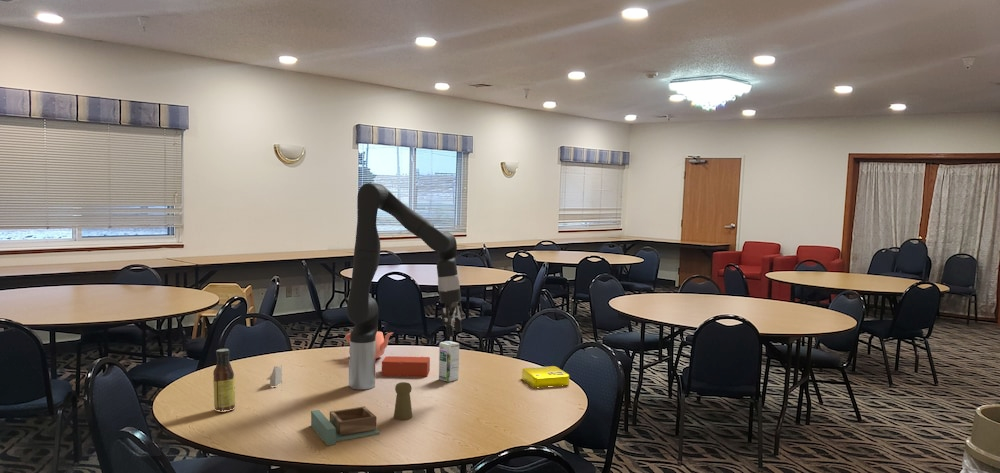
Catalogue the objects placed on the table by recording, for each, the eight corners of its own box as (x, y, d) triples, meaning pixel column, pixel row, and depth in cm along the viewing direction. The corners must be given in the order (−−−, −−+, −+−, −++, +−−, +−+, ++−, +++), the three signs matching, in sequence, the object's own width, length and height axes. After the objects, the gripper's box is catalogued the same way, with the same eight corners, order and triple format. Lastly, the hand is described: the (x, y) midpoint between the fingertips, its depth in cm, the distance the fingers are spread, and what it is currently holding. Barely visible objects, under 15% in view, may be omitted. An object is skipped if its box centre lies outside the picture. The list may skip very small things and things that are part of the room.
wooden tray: (329, 423, 197) (329, 411, 197) (364, 418, 202) (364, 406, 202) (340, 435, 187) (340, 422, 187) (376, 429, 193) (376, 416, 193)
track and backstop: (311, 425, 198) (311, 410, 197) (362, 417, 206) (362, 403, 206) (327, 445, 182) (327, 429, 182) (382, 435, 190) (382, 420, 190)
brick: (429, 371, 263) (429, 356, 263) (427, 377, 254) (427, 362, 254) (385, 370, 263) (385, 356, 263) (381, 376, 254) (381, 361, 254)
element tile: (555, 376, 260) (555, 364, 260) (570, 386, 246) (571, 374, 245) (520, 378, 255) (520, 366, 255) (534, 389, 241) (534, 377, 241)
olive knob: (394, 413, 210) (394, 380, 209) (413, 413, 210) (413, 380, 210) (392, 420, 204) (393, 385, 203) (412, 420, 204) (412, 385, 204)
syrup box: (438, 379, 251) (438, 342, 250) (449, 376, 255) (449, 340, 254) (448, 382, 247) (448, 344, 246) (459, 379, 251) (459, 342, 250)
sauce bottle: (239, 408, 212) (239, 348, 211) (225, 414, 206) (225, 353, 205) (223, 406, 214) (223, 346, 213) (209, 411, 208) (208, 351, 207)
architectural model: (266, 388, 236) (266, 368, 236) (274, 383, 243) (274, 364, 242) (275, 389, 236) (275, 369, 235) (283, 383, 243) (283, 364, 242)
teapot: (343, 357, 282) (343, 327, 281) (375, 352, 292) (376, 323, 291) (360, 365, 269) (360, 334, 268) (393, 360, 279) (394, 330, 278)
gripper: (446, 287, 236) (451, 331, 236) (431, 292, 222) (437, 338, 223) (465, 285, 234) (471, 329, 234) (452, 290, 220) (457, 337, 220)
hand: (454, 334), depth 228 cm, fingers open, 8 cm apart
